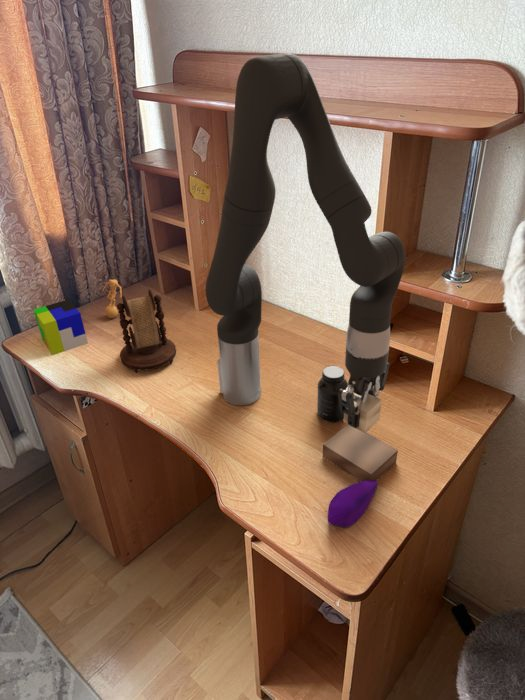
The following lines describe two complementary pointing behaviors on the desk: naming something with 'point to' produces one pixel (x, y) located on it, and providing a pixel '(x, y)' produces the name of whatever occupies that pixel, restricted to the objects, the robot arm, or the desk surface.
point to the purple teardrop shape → (351, 503)
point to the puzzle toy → (61, 326)
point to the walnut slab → (359, 454)
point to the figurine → (111, 309)
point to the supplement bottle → (330, 393)
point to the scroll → (144, 334)
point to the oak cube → (367, 413)
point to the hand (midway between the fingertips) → (361, 418)
